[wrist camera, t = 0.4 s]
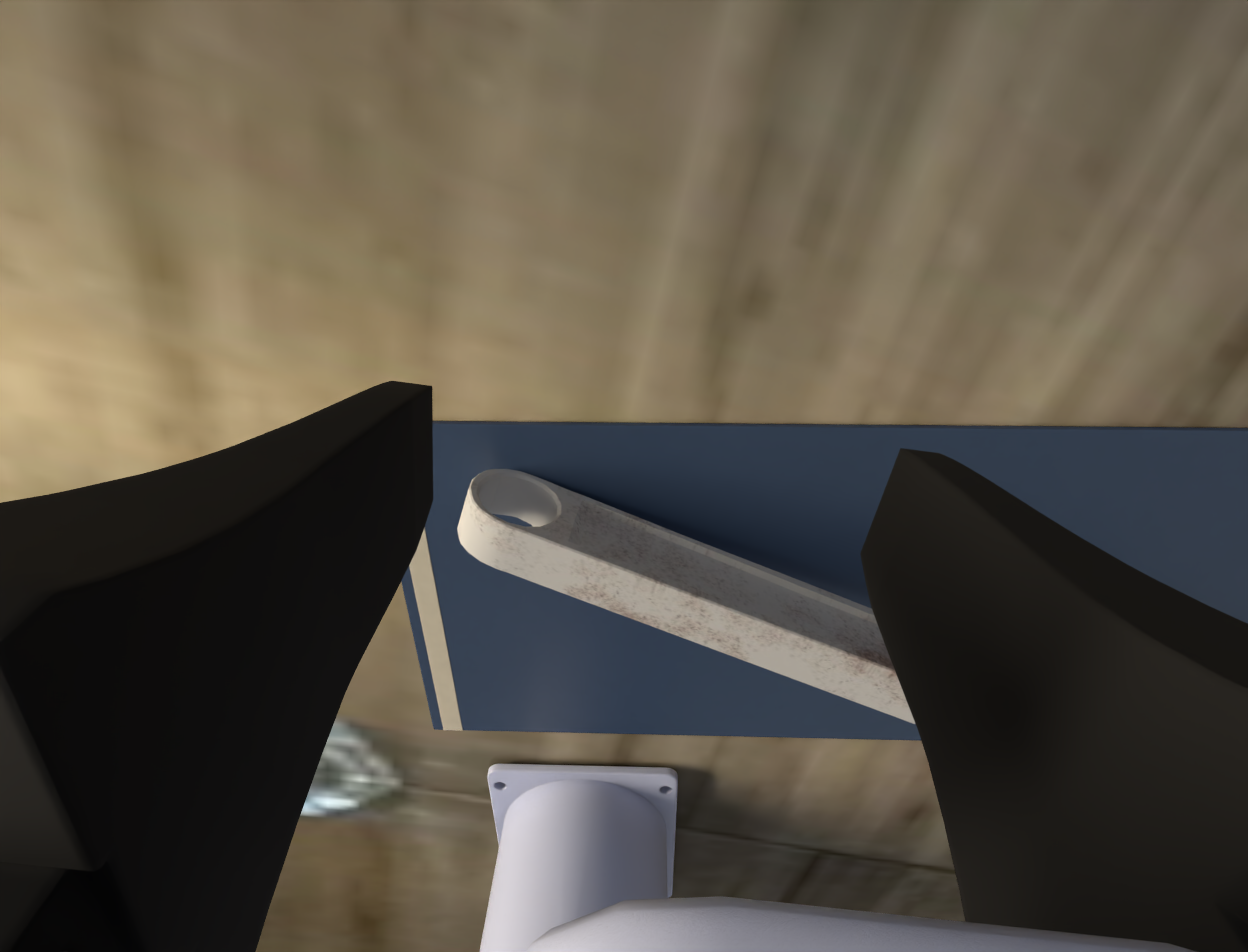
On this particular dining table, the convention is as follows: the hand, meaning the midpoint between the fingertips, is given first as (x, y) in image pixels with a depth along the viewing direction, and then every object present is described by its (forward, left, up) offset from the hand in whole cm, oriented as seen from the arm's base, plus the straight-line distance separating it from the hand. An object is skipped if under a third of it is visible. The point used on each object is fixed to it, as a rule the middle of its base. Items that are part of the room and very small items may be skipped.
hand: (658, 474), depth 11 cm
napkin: (-11, -8, -10) cm, 17 cm away
